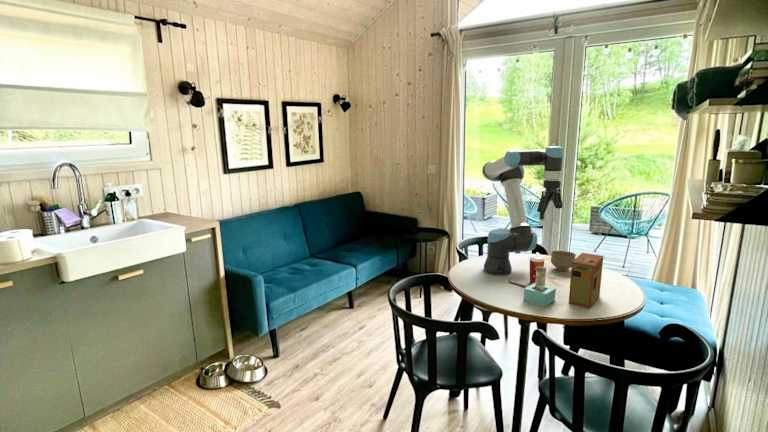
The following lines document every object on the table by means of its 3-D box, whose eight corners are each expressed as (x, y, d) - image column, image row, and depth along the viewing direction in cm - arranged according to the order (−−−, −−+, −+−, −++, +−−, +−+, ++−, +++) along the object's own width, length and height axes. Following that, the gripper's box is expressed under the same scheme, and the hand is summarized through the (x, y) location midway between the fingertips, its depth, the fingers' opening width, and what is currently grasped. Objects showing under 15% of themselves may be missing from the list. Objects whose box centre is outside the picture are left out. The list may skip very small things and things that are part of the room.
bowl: (576, 268, 229) (577, 251, 227) (572, 275, 218) (574, 257, 216) (552, 264, 235) (553, 248, 233) (547, 271, 225) (549, 253, 223)
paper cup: (536, 286, 203) (537, 260, 200) (524, 282, 210) (525, 256, 207) (547, 284, 207) (549, 257, 204) (535, 279, 213) (536, 253, 210)
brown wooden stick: (508, 282, 210) (508, 280, 209) (509, 282, 210) (509, 280, 210) (527, 288, 202) (527, 286, 202) (528, 287, 202) (528, 285, 202)
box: (578, 292, 196) (582, 252, 191) (599, 296, 190) (603, 256, 186) (568, 304, 183) (572, 261, 179) (590, 309, 177) (594, 265, 173)
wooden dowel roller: (532, 300, 187) (534, 267, 184) (537, 298, 190) (539, 265, 187) (541, 303, 184) (543, 269, 181) (545, 300, 187) (547, 267, 184)
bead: (523, 300, 188) (524, 288, 186) (534, 294, 194) (535, 282, 193) (544, 307, 180) (544, 294, 179) (554, 300, 187) (555, 288, 185)
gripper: (546, 182, 180) (543, 229, 185) (572, 177, 197) (568, 220, 201) (531, 181, 186) (528, 226, 190) (556, 176, 202) (554, 218, 206)
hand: (549, 223), depth 196 cm, fingers open, 13 cm apart
